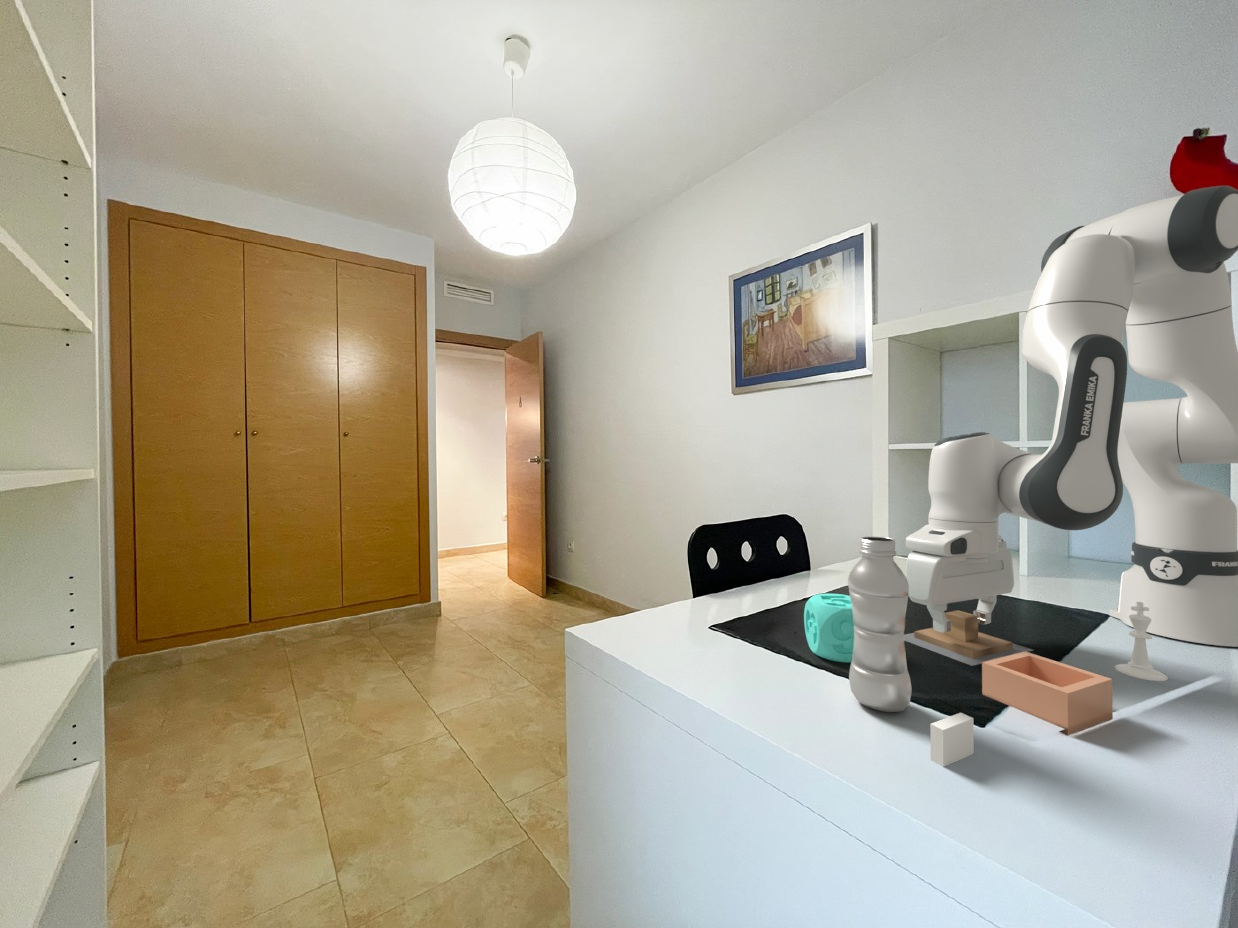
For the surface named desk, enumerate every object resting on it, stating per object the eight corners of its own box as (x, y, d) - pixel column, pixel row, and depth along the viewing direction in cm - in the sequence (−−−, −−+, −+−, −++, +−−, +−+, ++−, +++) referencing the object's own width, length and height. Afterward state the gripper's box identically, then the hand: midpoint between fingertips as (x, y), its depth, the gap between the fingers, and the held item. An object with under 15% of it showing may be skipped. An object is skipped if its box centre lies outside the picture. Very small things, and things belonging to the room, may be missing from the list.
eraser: (930, 760, 47) (930, 723, 47) (960, 747, 49) (960, 712, 49) (943, 767, 46) (943, 729, 46) (973, 754, 48) (973, 718, 48)
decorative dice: (855, 643, 77) (854, 593, 77) (877, 664, 69) (876, 608, 69) (804, 641, 78) (803, 592, 78) (819, 662, 70) (819, 607, 70)
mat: (953, 628, 83) (953, 624, 83) (1034, 653, 72) (1034, 649, 72) (894, 640, 78) (894, 636, 78) (972, 669, 67) (972, 665, 67)
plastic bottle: (889, 725, 53) (888, 545, 53) (836, 699, 59) (835, 537, 59) (924, 711, 56) (922, 540, 56) (870, 687, 62) (869, 533, 62)
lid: (952, 629, 81) (951, 602, 81) (1012, 648, 72) (1012, 619, 72) (914, 637, 78) (914, 609, 78) (972, 658, 69) (972, 627, 69)
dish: (1025, 686, 62) (1025, 651, 62) (1112, 718, 54) (1112, 678, 54) (982, 698, 59) (982, 662, 59) (1067, 735, 51) (1067, 693, 51)
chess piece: (1180, 687, 61) (1179, 608, 61) (1134, 684, 62) (1133, 607, 62) (1146, 670, 66) (1145, 597, 66) (1104, 667, 67) (1103, 596, 67)
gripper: (983, 531, 81) (983, 612, 81) (897, 539, 74) (897, 629, 74) (1026, 536, 75) (1027, 624, 75) (938, 545, 68) (938, 643, 68)
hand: (962, 626), depth 75 cm, fingers open, 8 cm apart
